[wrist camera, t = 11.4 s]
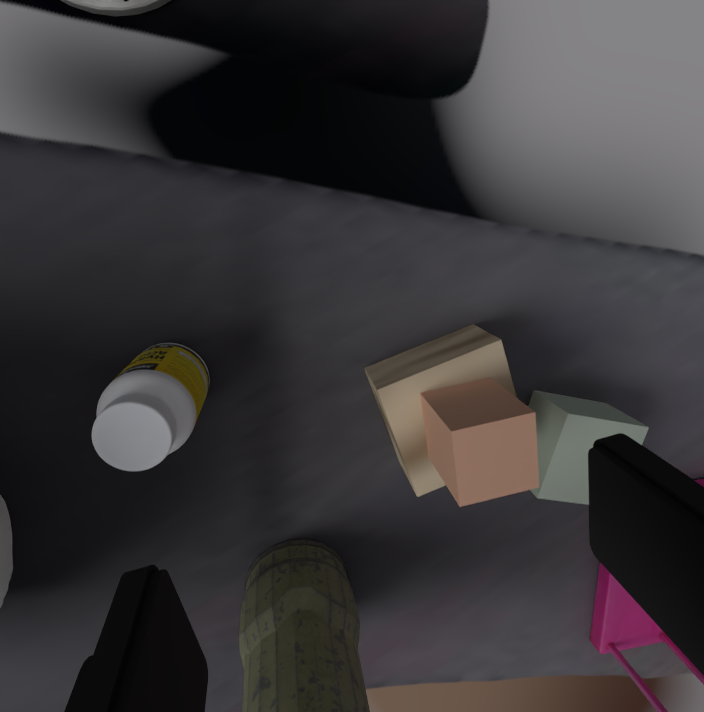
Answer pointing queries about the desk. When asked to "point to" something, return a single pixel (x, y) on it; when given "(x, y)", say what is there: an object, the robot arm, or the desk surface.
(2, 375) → the desk surface
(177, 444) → the supplement bottle
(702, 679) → the file sorter
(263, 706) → the thermos
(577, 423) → the sage block
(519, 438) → the terracotta block
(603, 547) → the robot arm
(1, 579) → the white rounded piece
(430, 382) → the maple block
